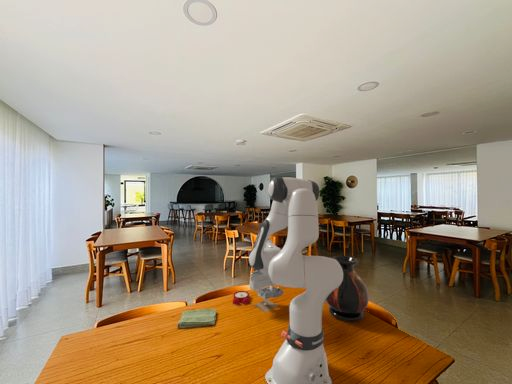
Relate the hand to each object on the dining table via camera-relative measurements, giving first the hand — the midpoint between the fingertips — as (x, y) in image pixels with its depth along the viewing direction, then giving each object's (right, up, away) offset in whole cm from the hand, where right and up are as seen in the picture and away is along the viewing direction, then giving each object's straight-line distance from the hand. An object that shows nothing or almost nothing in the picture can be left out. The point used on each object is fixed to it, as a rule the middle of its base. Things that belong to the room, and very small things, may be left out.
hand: (265, 293), depth 116 cm
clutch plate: (0, -1, 0) cm, 1 cm away
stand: (0, -8, 0) cm, 8 cm away
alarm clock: (-14, -9, +7) cm, 18 cm away
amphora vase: (+41, -7, -7) cm, 42 cm away
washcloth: (-34, -9, -11) cm, 37 cm away
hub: (+4, -8, +17) cm, 19 cm away
